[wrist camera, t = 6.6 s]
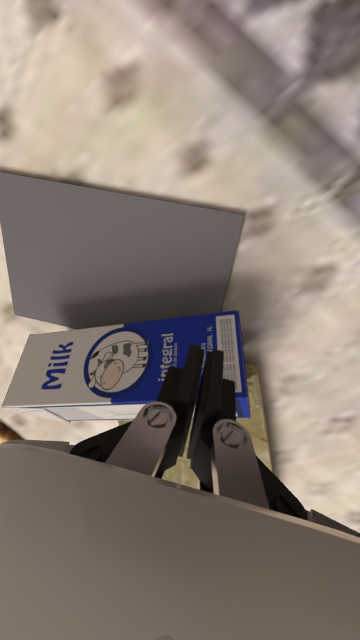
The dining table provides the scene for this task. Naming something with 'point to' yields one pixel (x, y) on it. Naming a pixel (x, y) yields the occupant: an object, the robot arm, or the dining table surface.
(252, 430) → the decorative tile
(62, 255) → the mat
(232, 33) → the dining table surface
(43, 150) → the dining table surface
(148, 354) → the milk carton
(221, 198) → the dining table surface
